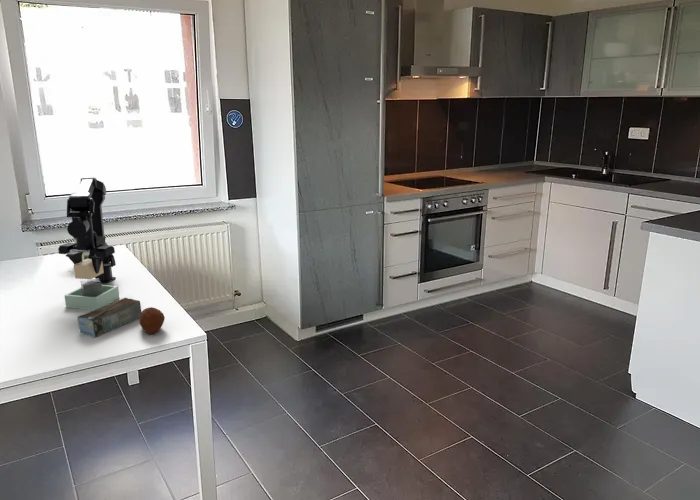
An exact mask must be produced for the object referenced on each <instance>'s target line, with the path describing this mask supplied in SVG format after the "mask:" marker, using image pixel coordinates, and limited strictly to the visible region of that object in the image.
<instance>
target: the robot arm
mask: <svg viewBox="0 0 700 500" xmlns="http://www.w3.org/2000/svg"><path fill="white" fill-rule="evenodd" d="M106 195H107V188H106V185H105V183H104V182H103V181H101V180H97V177H94V176H85V177H84V176H83V177H81V178H80V182H79V186H78V188H77V190H76V192H73V193H71V194H70V195H69V197H68V198H67V201H66V218H71V221H70V223H68V225H67V227H66V230H67V233H68V235H70V236H71V237H72V238H73V239H74V238H76V243H75V242H66V243H63V244H61V245H59V247H58V249H57V250H58V254H59V255H65V257H67V258H68V259H69V260H70V261H71V263H72V264H73V265H74V264H77V263H79V262H81V261H82V254H83V252H89V255H88V259H92V263H93V266H94V270H95V272H96V274H98V273H99V270H100V266H101V263H103V271H104V273H102V274H100V275H98V276H97V277H95V278H94V279H97V278H99V280H100V282H101V284H108V283H110V282H112V281H114V280H116V279H117V278H116V276H113V271H112V270H113V269H112V268H113V267H114V266H116V265H117V264H116V260H115V255H114V254H116V250H115V247H114V246H113V245H109V244H108V243H107V242H106V236H105V228H104V219H103V209H102V206H103V203H104V201H105V199H106Z"/></svg>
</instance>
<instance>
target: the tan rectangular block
mask: <svg viewBox="0 0 700 500" xmlns="http://www.w3.org/2000/svg"><path fill="white" fill-rule="evenodd" d="M73 269H74V277H75V279H78V280H79V279H82V280H91V279H95V277H97V276H98V275H100V274H102V273H104V271H103V263H101V266H100V270H99V273H98V274H96V272H95V270H94V266H93V263H92V259H85V260H83V261H81V262H79V263H77V264H74V263H73Z"/></svg>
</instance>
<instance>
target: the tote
mask: <svg viewBox="0 0 700 500" xmlns="http://www.w3.org/2000/svg"><path fill="white" fill-rule="evenodd" d="M102 292H103V294H101V295H99V296H97V297H87V296H82V288H81V287H78V288H77V289H75V290H72V291H71V292H68V293H67V294H66V293H65V295H64V301H65V307H66V308H71V309H81V310H82V309H83V310H91V311H94V310H96V309H99V308H101V307H104V306H106V305H109V304H111V303H113V302H115V301H116V300H118V299H119V298H120V291H119V285H108V284H107V285H106V284H102Z"/></svg>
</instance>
